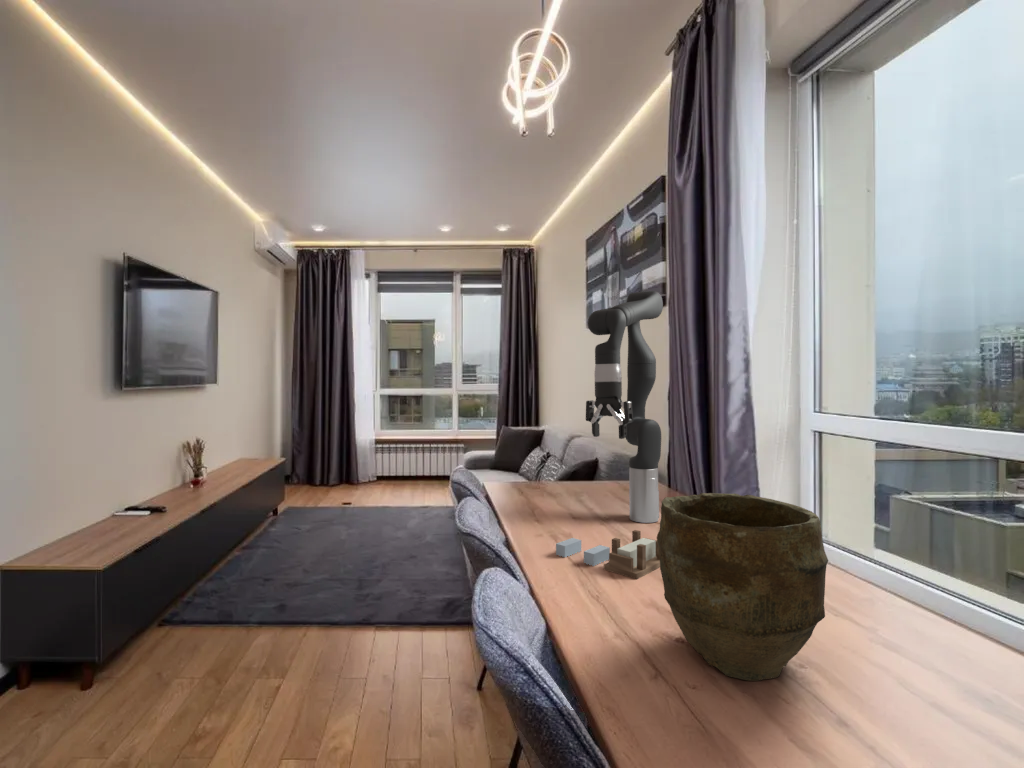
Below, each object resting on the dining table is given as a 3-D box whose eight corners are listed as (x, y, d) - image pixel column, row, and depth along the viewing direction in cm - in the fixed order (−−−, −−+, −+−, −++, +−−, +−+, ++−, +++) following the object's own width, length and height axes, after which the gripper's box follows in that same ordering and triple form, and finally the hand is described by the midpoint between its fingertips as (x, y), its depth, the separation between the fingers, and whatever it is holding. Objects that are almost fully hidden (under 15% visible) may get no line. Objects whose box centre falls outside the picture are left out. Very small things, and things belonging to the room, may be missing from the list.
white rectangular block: (617, 565, 123) (617, 548, 123) (643, 553, 131) (643, 537, 131) (630, 568, 120) (630, 551, 120) (655, 556, 129) (655, 540, 129)
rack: (640, 552, 136) (640, 527, 136) (672, 560, 129) (672, 534, 129) (603, 569, 123) (603, 541, 123) (636, 579, 117) (636, 549, 117)
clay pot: (802, 630, 92) (802, 492, 92) (856, 719, 68) (854, 531, 68) (656, 614, 99) (656, 485, 99) (657, 689, 75) (656, 518, 75)
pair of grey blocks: (572, 548, 139) (572, 537, 139) (609, 559, 131) (609, 547, 131) (556, 555, 134) (555, 543, 134) (593, 566, 126) (593, 554, 126)
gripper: (579, 380, 147) (580, 437, 147) (622, 380, 137) (623, 440, 137) (594, 380, 152) (595, 434, 152) (637, 379, 142) (638, 437, 143)
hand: (609, 437), depth 145 cm, fingers open, 8 cm apart
